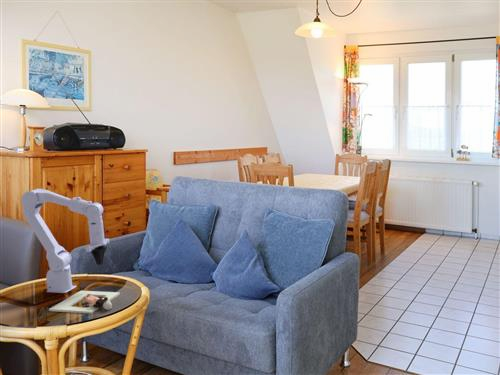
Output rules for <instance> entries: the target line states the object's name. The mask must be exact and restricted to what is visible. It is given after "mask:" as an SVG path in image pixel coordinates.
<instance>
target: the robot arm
mask: <svg viewBox="0 0 500 375" xmlns="http://www.w3.org/2000/svg"><path fill="white" fill-rule="evenodd" d="M48 202H50V203H53V204H57V205H61V206H65V207H68V209H69V211H71V212H74V213H77V214H80V215H84V216H86V218H87V223H88V232H89V233H88V234H89V242H90V243H89V244H88V245H87V246H85V247H84V248H85V253H91V254H92V257H93V258H94V261H95V263H96V265H99V266H100V265H103V264H104V259H105V254H106V250H107V249H108V248H107V244H110V242H111V241H110V238H105V229H104V220H103V213H104V206H103V205H102V204H101V203H99V202H98V201H96V202H92V200H89V201H87V200H85V199H82V197H80V196H77V197H76V196H75V197H72V198H69V197H66V196H65V195H61V194H58V193H55V192H53V191H51V190H48V189H43V188H41V187H37V188H35V189H33V190H28V191H25V192H24V193H23V194H22V197H21V200H20V203H21V204H22V212H23V216H24V218H25V219H26V222H27V223H28V225H29V226H30V228H31V229H32V231H33V232H34V234H35V236H36V237H37V239H38V241H39V242H40V244H41V245H42V247H43V248H44V250H45V252H46V255H45V256H46V260H47V264H48V267H49V270H48V271H47V272H46V278H45V279H46V286H47V290H46V293H55V294H56V293H57V294H58V293H59V294H66V293H68V292H70V291H72V290H74V289H75V288H77V285H73V280H72V273H71V272H72V271H71V265H70V264H71V263H72V260H73V258H72V254H71V253H70V252H68V251H67V250H66V249H65V247H63V246H61V245H60V244H59V243H58V241H57V240H56V237H54V234H52V232H51V230H50V229H49V227H48V225H47V223H46V222H45V221H44V219H43V217H42V216H41V215H40V211H41V208H42V206H43V205H44V203H48Z"/></svg>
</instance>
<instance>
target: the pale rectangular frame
mask: <svg viewBox="0 0 500 375" xmlns="http://www.w3.org/2000/svg"><path fill="white" fill-rule="evenodd" d="M89 293H90V294H91V295H92V296H95V297H98V298H101V299H104V296H106V297H108V300H109V301H110V302H111V301H112V300H113V299H115V298H117V297H118V296H121V295H120V293H121V292H115V291H98V290H79V291H78V292H76V293H74V294H73V295H71V296H69V297H67V298H65V299H63V301H61V302H59V303H57V304H54V305H53V306H52V307H50V308H48V312H58V313H59V312H60V313H72V314H73V313H74V314H89V315H91V314H93V313H95V312H96V311H98V310H99V309H100V308H98V307H90V306H87V307H86V306H85V307H84V306H74V305H76V304H77V303H79V302H80V301H81V302H82V300H83V297H84V296H86V297H87V295H88V294H89Z"/></svg>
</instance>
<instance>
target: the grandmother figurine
mask: <svg viewBox="0 0 500 375" xmlns="http://www.w3.org/2000/svg"><path fill="white" fill-rule="evenodd" d="M103 298H104V299H102V298H101V297H96V296H92V295H91V294H90V293H89V294H88V295H87V297H86V296H84V297H83V299H82V300H81V303H82V304H86V303H88V307H98V308H99V309H100V308H103V309H104V310H106V311H110V310H111V309H112V308H113V304H112V302H111V301H109V300H108V297H106V296H104V297H103Z"/></svg>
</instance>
